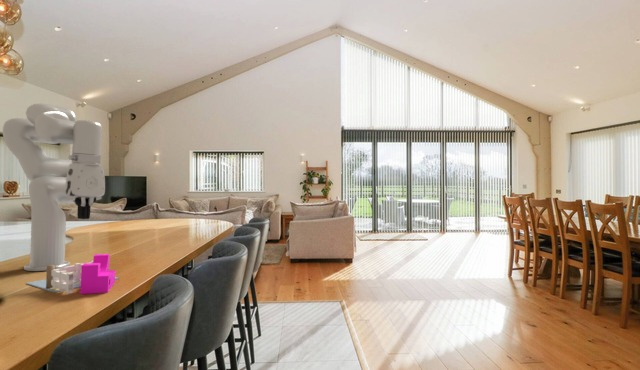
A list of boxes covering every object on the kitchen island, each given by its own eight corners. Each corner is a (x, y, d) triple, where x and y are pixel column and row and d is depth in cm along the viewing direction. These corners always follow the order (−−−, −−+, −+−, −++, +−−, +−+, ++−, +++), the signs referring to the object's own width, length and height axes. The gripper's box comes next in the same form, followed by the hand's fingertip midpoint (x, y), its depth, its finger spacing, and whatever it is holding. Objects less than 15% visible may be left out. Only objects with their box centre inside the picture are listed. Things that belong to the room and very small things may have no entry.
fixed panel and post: (44, 289, 97) (45, 265, 97) (52, 287, 98) (53, 264, 98) (66, 295, 91) (67, 271, 91) (74, 294, 93) (74, 269, 93)
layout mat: (26, 283, 101) (26, 282, 101) (90, 272, 117) (90, 270, 117) (54, 292, 93) (54, 290, 93) (119, 278, 109) (119, 277, 109)
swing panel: (58, 285, 98) (59, 267, 98) (56, 284, 99) (56, 266, 99) (95, 277, 107) (96, 260, 107) (93, 276, 108) (94, 260, 108)
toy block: (107, 292, 95) (108, 264, 95) (80, 294, 92) (81, 265, 92) (117, 277, 109) (118, 253, 109) (94, 279, 106) (95, 254, 106)
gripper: (70, 158, 102) (67, 221, 102) (116, 162, 116) (113, 217, 116) (53, 158, 105) (50, 219, 105) (99, 162, 119) (97, 216, 119)
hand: (83, 218), depth 110 cm, fingers closed
